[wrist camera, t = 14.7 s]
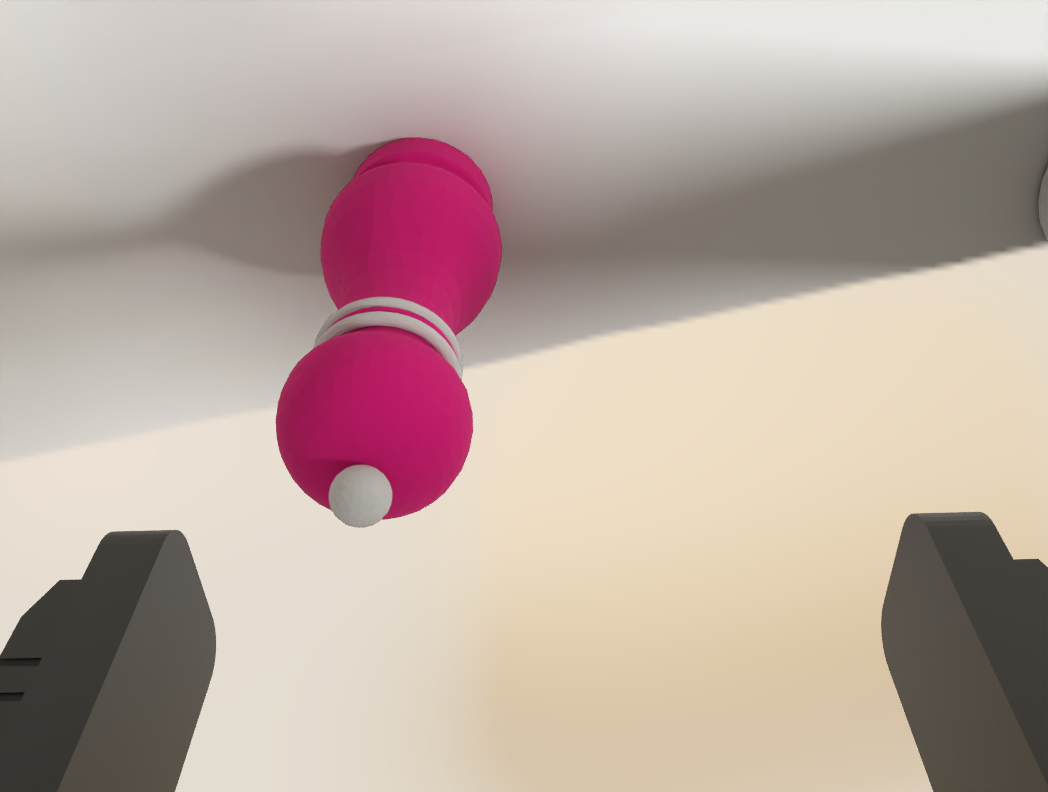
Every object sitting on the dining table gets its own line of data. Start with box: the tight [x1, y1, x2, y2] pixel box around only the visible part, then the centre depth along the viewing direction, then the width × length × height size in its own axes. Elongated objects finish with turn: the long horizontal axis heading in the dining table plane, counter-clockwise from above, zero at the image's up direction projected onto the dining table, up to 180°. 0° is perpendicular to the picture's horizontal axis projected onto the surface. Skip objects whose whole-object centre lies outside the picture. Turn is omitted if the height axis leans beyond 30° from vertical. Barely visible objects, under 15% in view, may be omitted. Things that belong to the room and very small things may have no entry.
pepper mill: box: [276, 138, 502, 527], centre depth 35 cm, size 7×7×20 cm
